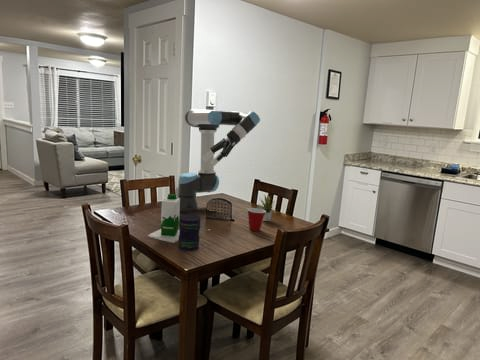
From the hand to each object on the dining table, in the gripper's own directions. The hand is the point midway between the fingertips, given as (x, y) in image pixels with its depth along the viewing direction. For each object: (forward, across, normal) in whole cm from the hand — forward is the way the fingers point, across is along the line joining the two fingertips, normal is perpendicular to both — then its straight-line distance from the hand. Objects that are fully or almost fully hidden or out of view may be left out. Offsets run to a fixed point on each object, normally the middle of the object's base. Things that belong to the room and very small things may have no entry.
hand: (207, 162), depth 183 cm
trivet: (+40, -4, -13) cm, 43 cm away
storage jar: (+37, -21, -17) cm, 46 cm away
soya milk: (+40, -3, -12) cm, 42 cm away
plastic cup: (+6, -4, -47) cm, 48 cm away
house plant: (-4, +11, -57) cm, 59 cm away
